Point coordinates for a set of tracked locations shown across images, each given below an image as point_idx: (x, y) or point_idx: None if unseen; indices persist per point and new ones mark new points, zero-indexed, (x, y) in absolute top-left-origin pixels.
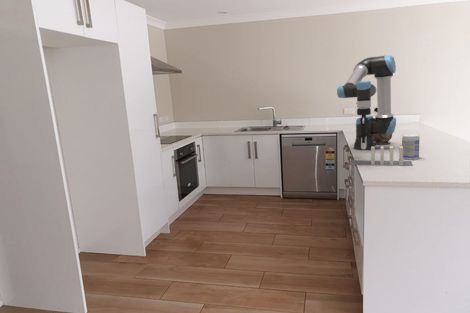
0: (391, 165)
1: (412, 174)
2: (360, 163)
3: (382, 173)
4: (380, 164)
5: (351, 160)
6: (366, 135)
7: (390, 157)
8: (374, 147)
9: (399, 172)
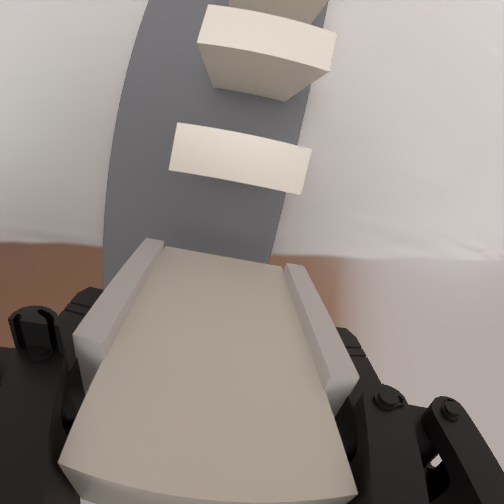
0: None
1: (488, 41)
2: (214, 243)
3: (472, 162)
4: (285, 100)
5: None
6: (54, 333)
7: (314, 14)
8: (266, 139)
9: (463, 70)
